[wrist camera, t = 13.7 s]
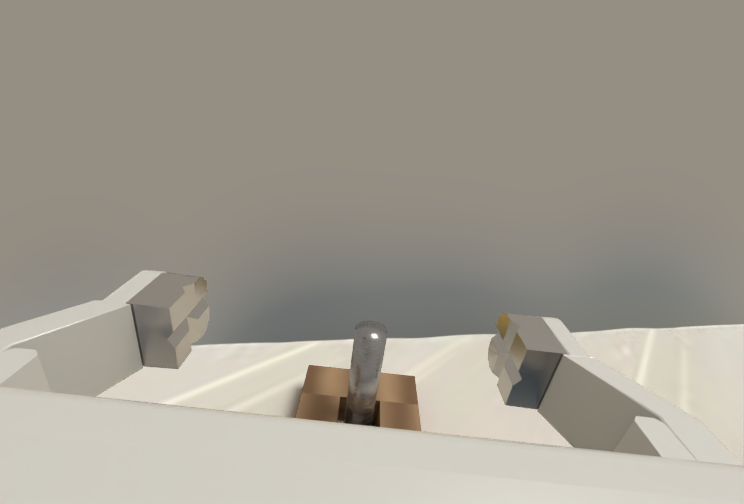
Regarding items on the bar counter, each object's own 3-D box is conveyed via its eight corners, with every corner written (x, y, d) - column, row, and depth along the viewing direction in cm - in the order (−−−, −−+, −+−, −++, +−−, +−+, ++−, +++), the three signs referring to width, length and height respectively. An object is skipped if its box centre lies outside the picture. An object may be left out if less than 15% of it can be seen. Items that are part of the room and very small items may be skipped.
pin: (340, 450, 40) (354, 339, 33) (343, 426, 43) (356, 318, 36) (368, 453, 40) (387, 342, 33) (369, 429, 43) (387, 322, 36)
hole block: (281, 496, 35) (281, 470, 33) (307, 387, 47) (308, 365, 46) (420, 509, 35) (427, 484, 33) (409, 398, 48) (414, 376, 46)
